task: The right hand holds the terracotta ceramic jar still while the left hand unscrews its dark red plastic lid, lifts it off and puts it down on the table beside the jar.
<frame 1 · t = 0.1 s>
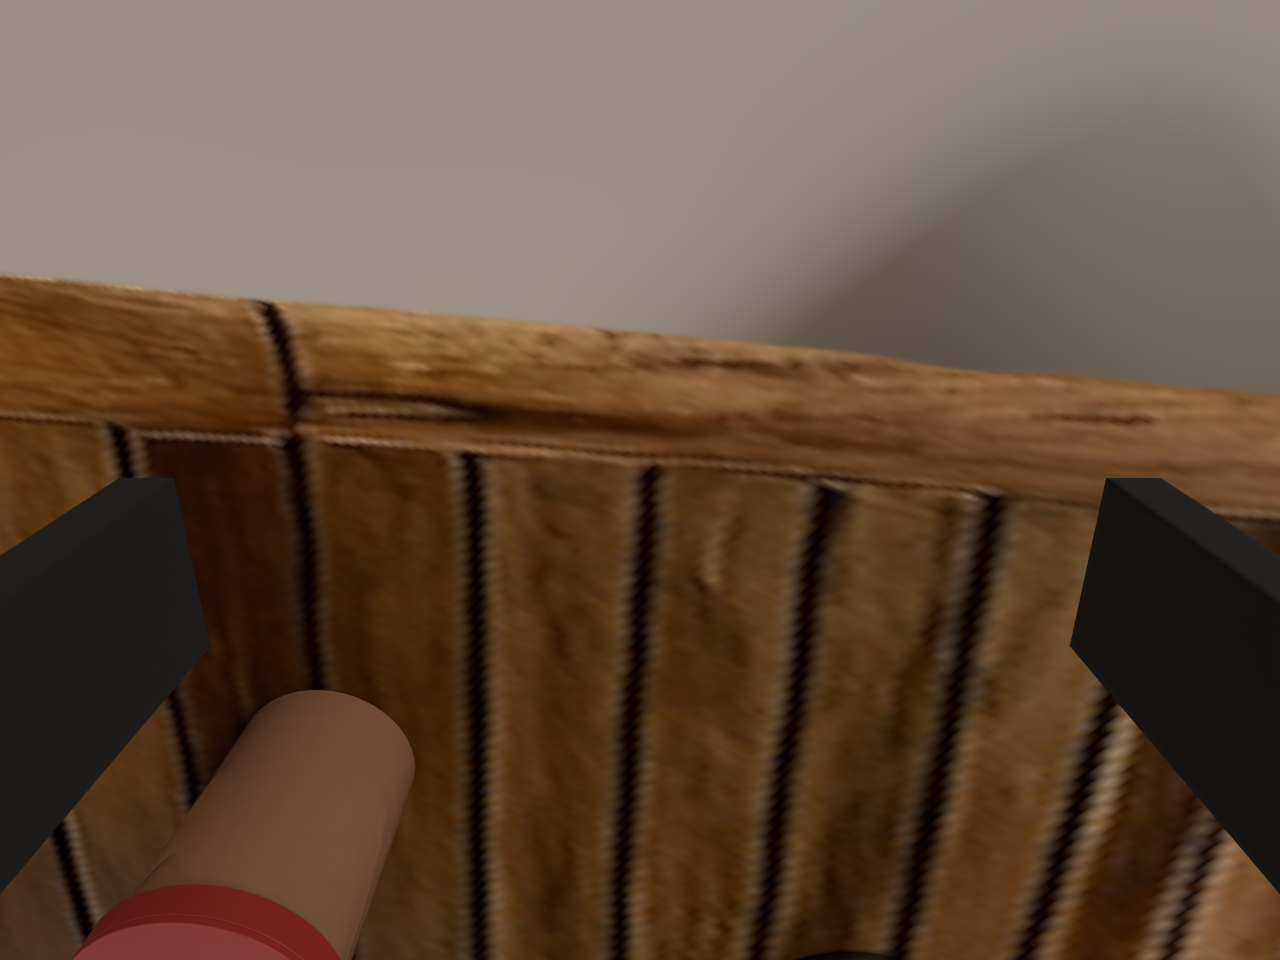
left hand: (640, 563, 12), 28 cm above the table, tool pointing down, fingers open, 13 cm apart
jar: (328, 761, 48), on the table
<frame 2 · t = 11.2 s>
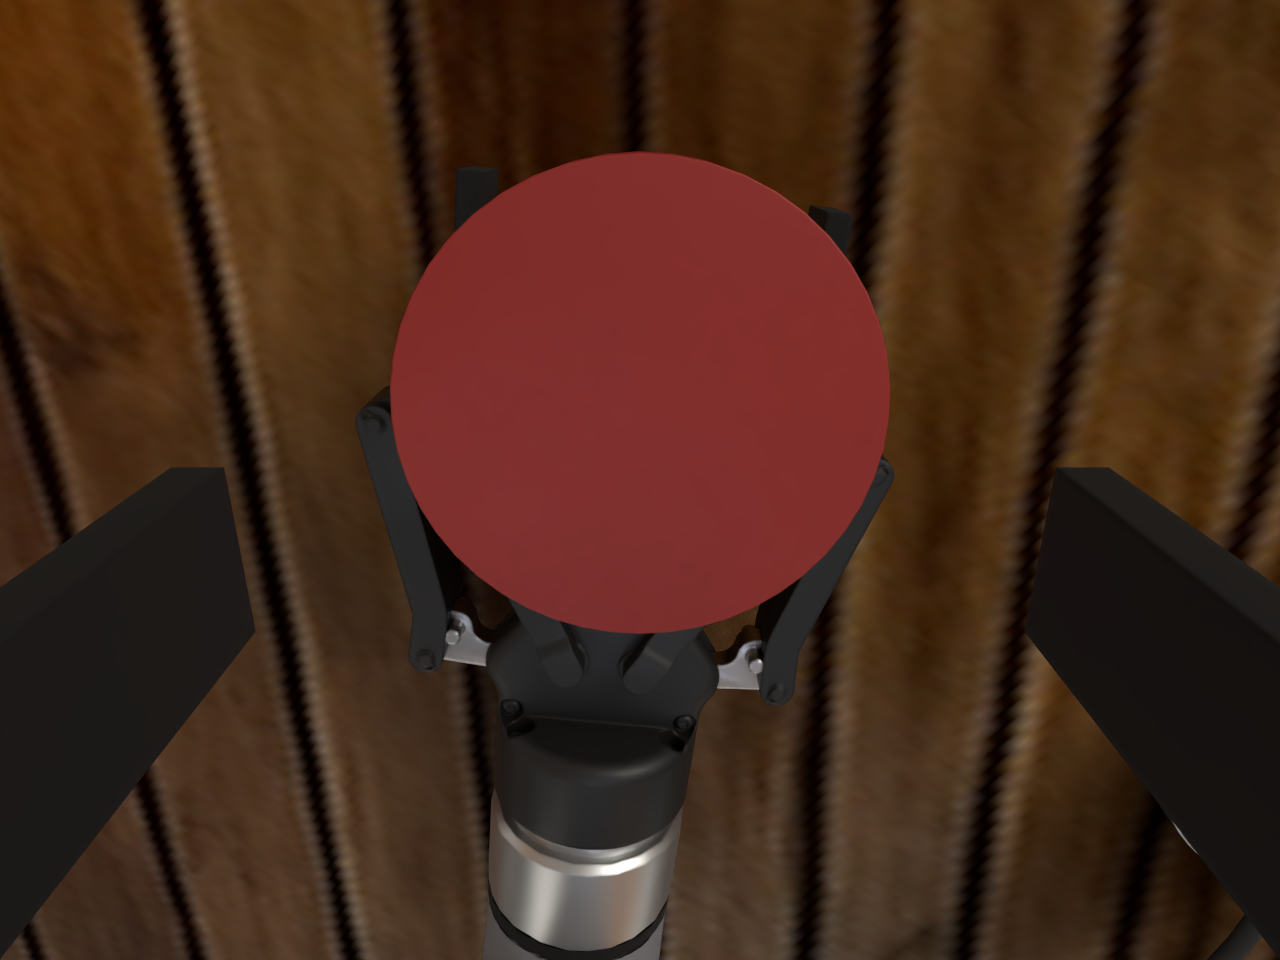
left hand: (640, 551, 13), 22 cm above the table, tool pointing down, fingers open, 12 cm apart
lid: (640, 414, 19), point 15 cm above the table, screwed on, not yet turned
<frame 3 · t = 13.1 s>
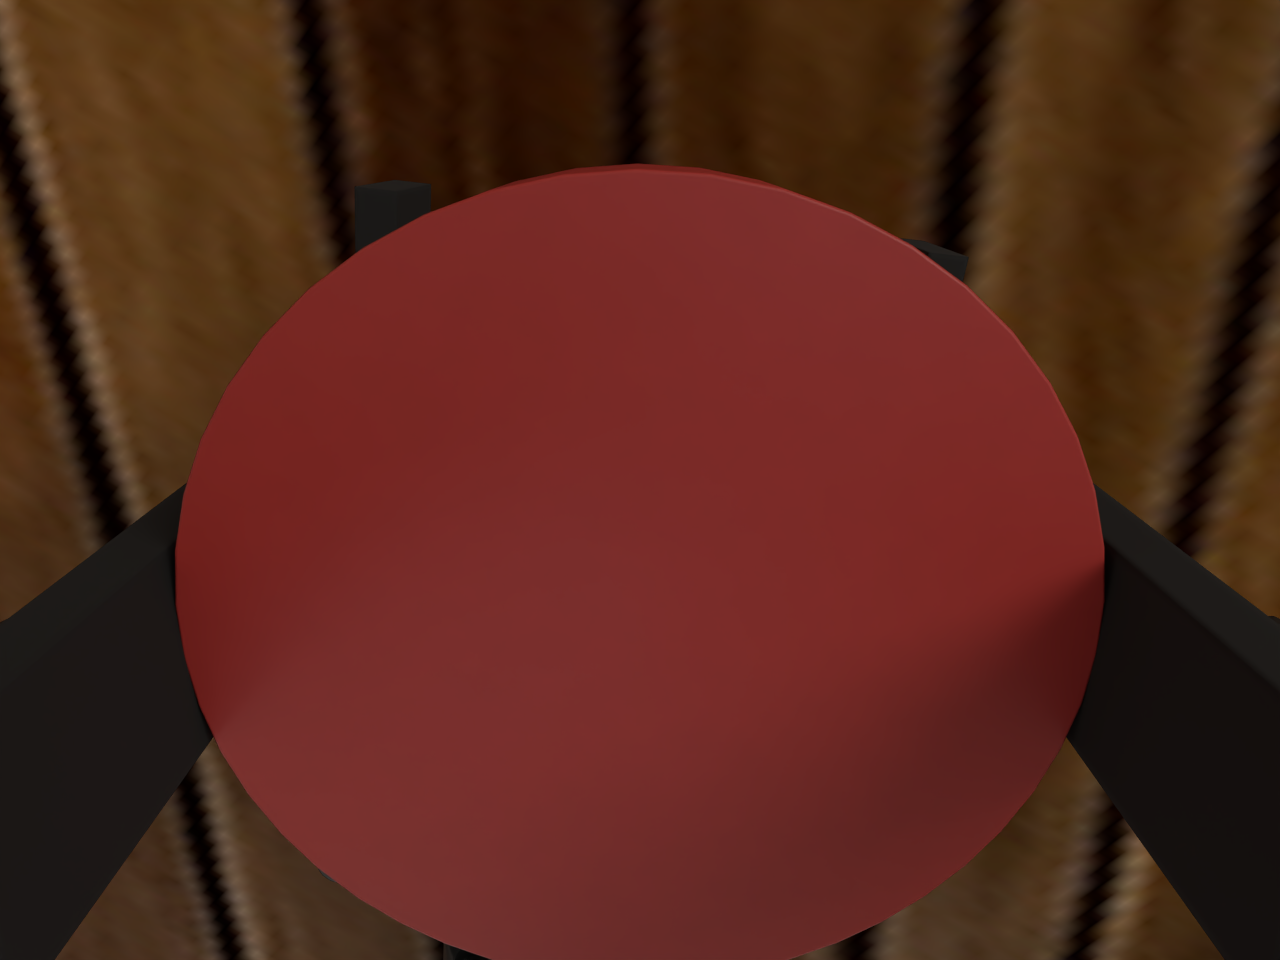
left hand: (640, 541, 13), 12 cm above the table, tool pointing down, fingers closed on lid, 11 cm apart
lid: (639, 639, 10), point 15 cm above the table, screwed on, not yet turned, touching left hand
when the left hand's fingers open (0 cm above the table, at t = 32.6 s): lid drops 2 cm, point 1 cm above the table.
when the right hand's fingers open (7 cm above the table, at t = 33.7 s): jar stays where it is, on the table.
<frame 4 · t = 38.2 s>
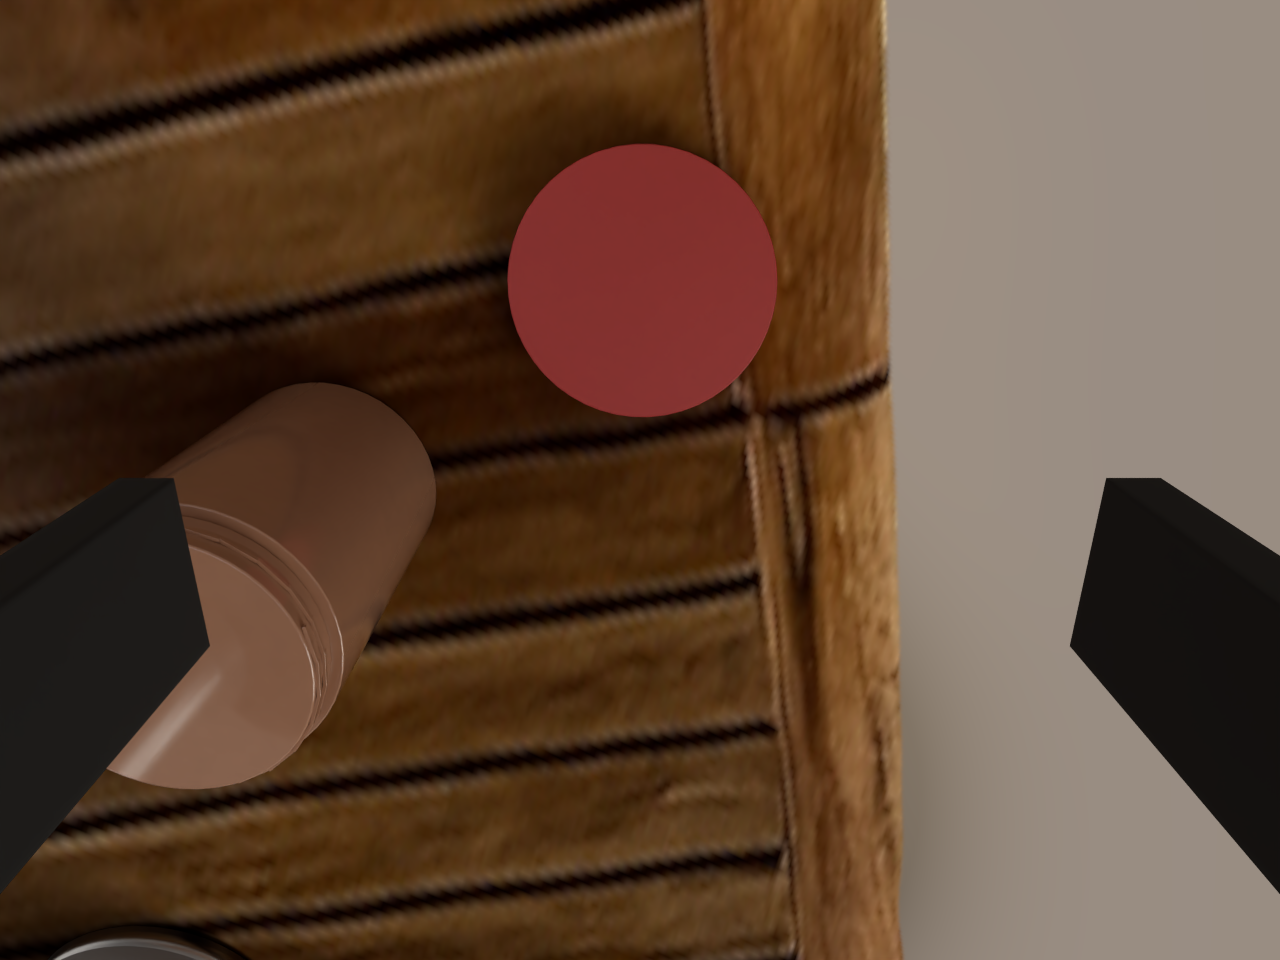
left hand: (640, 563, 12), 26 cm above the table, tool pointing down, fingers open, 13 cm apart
jar: (330, 484, 40), on the table
lid: (642, 287, 35), point 1 cm above the table, off its thread
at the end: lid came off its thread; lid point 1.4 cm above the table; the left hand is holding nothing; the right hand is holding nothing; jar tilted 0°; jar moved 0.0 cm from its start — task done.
